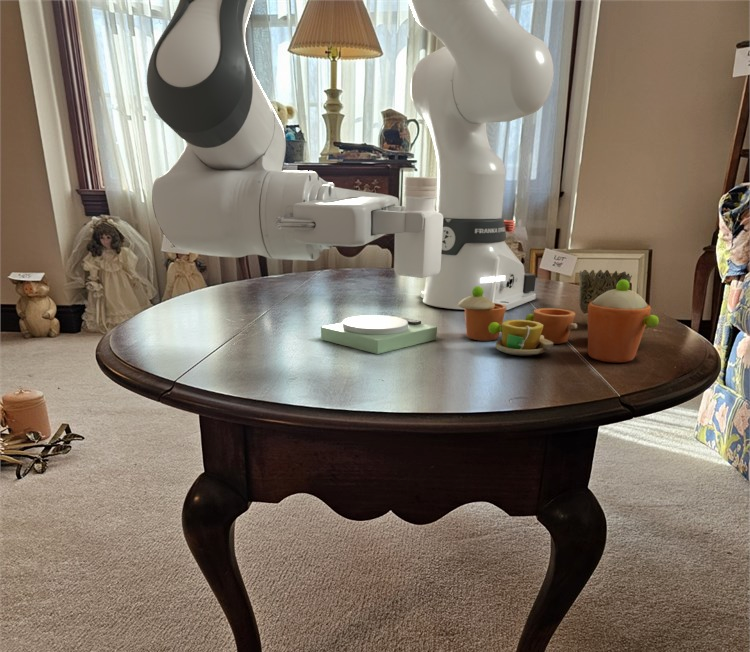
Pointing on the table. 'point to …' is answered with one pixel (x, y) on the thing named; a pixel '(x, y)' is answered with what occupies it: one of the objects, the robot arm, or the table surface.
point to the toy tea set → (564, 325)
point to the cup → (597, 285)
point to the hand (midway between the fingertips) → (427, 220)
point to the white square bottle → (423, 248)
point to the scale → (378, 333)
